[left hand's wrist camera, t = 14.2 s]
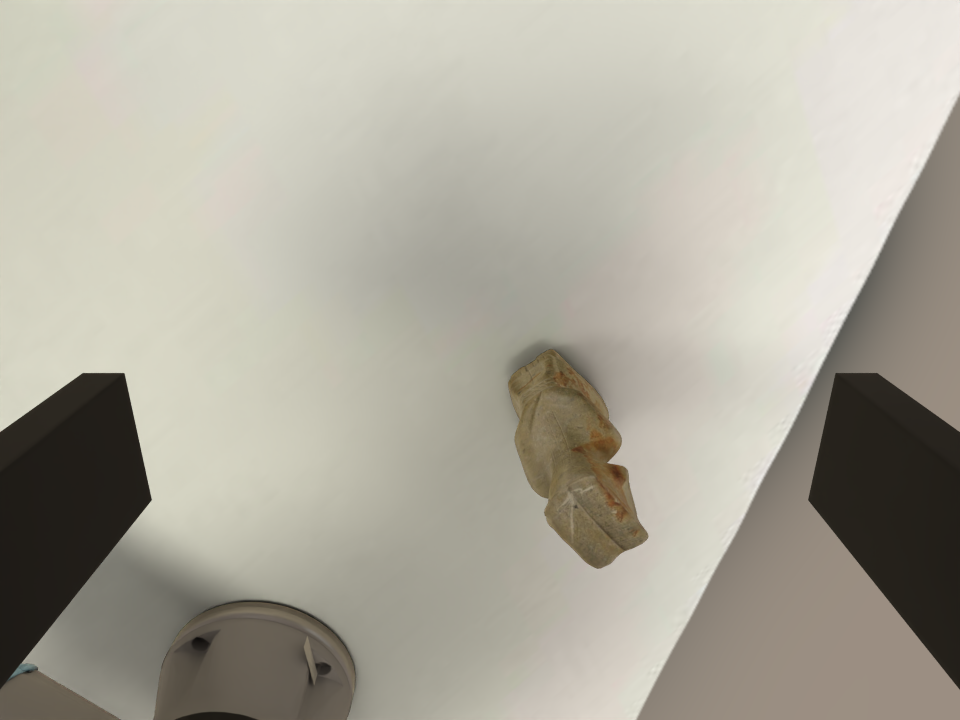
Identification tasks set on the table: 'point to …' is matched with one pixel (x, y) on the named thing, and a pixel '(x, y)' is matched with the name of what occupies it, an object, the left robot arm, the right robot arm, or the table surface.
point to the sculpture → (574, 460)
